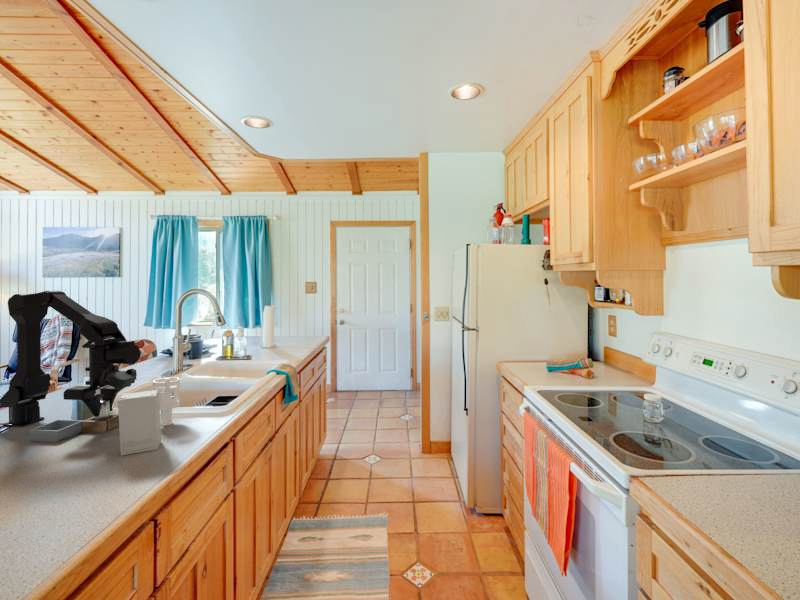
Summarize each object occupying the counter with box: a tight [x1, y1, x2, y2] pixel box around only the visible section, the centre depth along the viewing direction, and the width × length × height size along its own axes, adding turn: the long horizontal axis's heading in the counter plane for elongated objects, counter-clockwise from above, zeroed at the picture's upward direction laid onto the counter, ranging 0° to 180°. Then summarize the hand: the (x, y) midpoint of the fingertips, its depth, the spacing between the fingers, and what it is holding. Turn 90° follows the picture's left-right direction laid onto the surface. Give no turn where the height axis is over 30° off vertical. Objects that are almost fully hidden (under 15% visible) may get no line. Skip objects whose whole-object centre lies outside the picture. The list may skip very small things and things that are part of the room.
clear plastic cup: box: [152, 376, 181, 427], centre depth 112 cm, size 7×7×15 cm
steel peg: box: [95, 399, 111, 421], centre depth 108 cm, size 4×4×8 cm
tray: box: [29, 419, 84, 443], centre depth 102 cm, size 8×8×3 cm
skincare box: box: [117, 389, 162, 456], centre depth 95 cm, size 8×6×15 cm
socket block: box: [81, 413, 119, 433], centre depth 108 cm, size 7×7×3 cm
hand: (102, 414), depth 108 cm, fingers closed on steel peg, 3 cm apart
